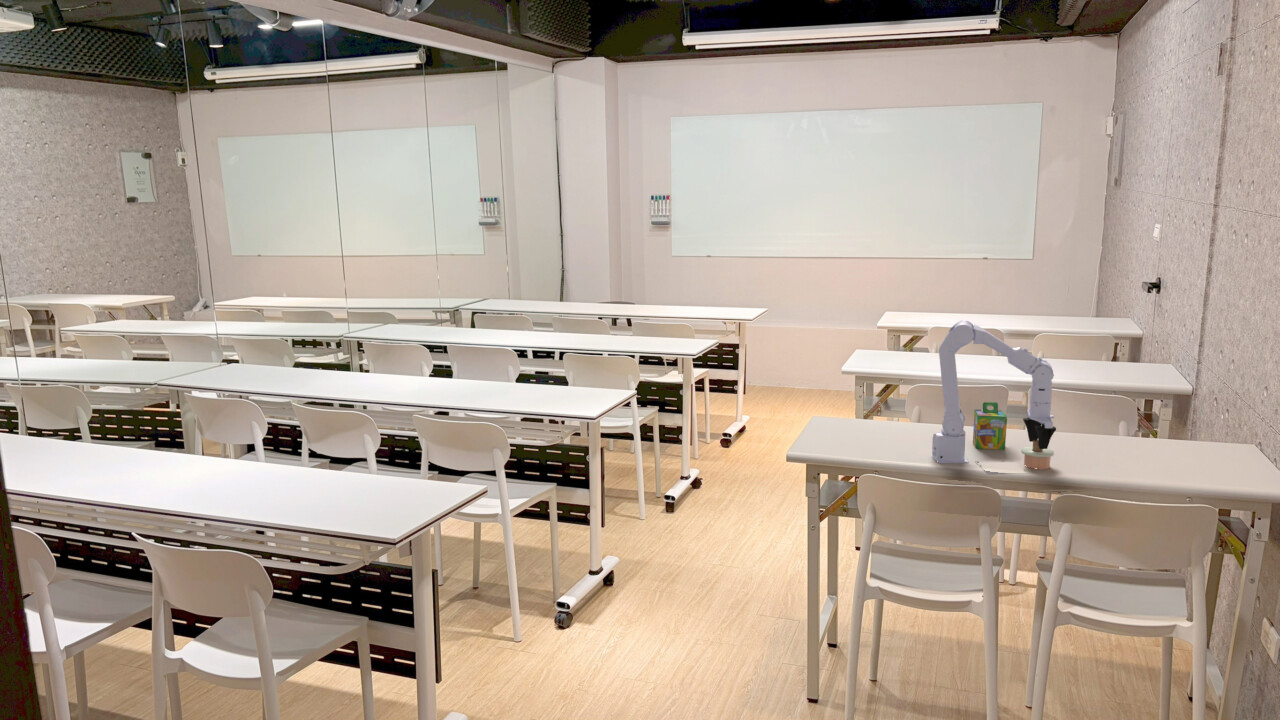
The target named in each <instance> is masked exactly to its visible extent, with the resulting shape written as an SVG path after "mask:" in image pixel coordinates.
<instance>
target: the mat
mask: <svg viewBox="0 0 1280 720" xmlns="http://www.w3.org/2000/svg"><path fill="white" fill-rule="evenodd" d="M976 462H977V463H979V461H976ZM977 463H976V464H977ZM983 471H984V472H985V473H986V474H987V475H1007V474H1006V473H1005V474H1004V473H998V472H990V471H985V470H983Z"/></svg>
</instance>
